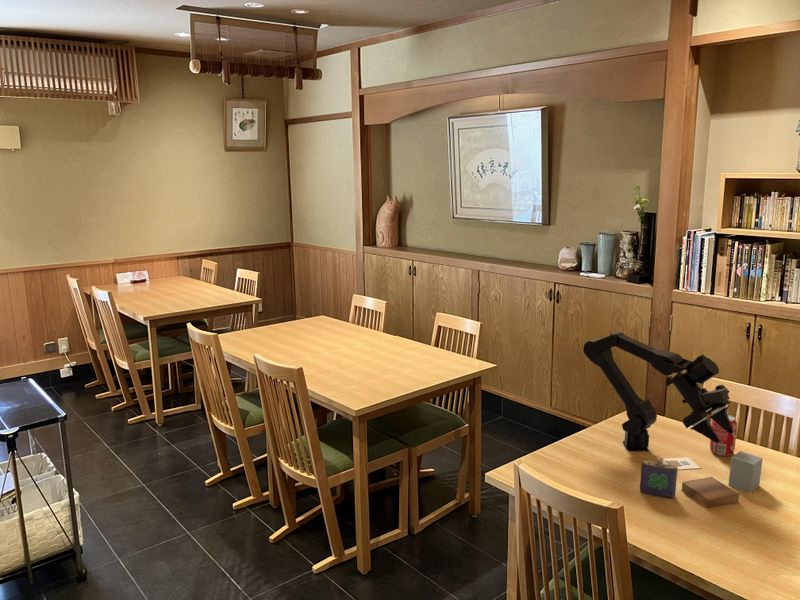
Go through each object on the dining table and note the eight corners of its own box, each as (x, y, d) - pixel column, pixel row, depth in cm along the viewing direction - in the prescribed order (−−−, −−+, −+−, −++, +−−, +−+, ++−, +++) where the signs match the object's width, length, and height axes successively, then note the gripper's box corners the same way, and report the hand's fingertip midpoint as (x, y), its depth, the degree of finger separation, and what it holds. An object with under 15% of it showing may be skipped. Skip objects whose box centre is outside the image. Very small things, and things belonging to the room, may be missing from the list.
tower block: (728, 484, 185) (731, 457, 183) (737, 478, 189) (740, 451, 187) (750, 492, 180) (754, 464, 179) (759, 485, 184) (762, 458, 182)
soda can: (728, 448, 208) (732, 412, 205) (737, 458, 201) (742, 421, 198) (705, 447, 209) (709, 412, 206) (713, 457, 202) (717, 420, 199)
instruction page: (668, 470, 194) (668, 469, 193) (657, 459, 200) (657, 458, 200) (700, 468, 194) (700, 467, 194) (688, 458, 201) (688, 457, 201)
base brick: (681, 491, 182) (682, 482, 181) (710, 486, 185) (711, 476, 184) (707, 509, 173) (709, 499, 172) (738, 503, 176) (739, 493, 175)
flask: (675, 495, 179) (678, 459, 177) (675, 500, 177) (678, 463, 174) (639, 489, 183) (642, 453, 180) (639, 494, 180) (641, 458, 178)
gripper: (697, 385, 181) (734, 434, 175) (725, 370, 193) (761, 416, 187) (667, 404, 188) (702, 451, 183) (697, 389, 200) (730, 433, 195)
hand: (725, 437), depth 186 cm, fingers open, 9 cm apart
